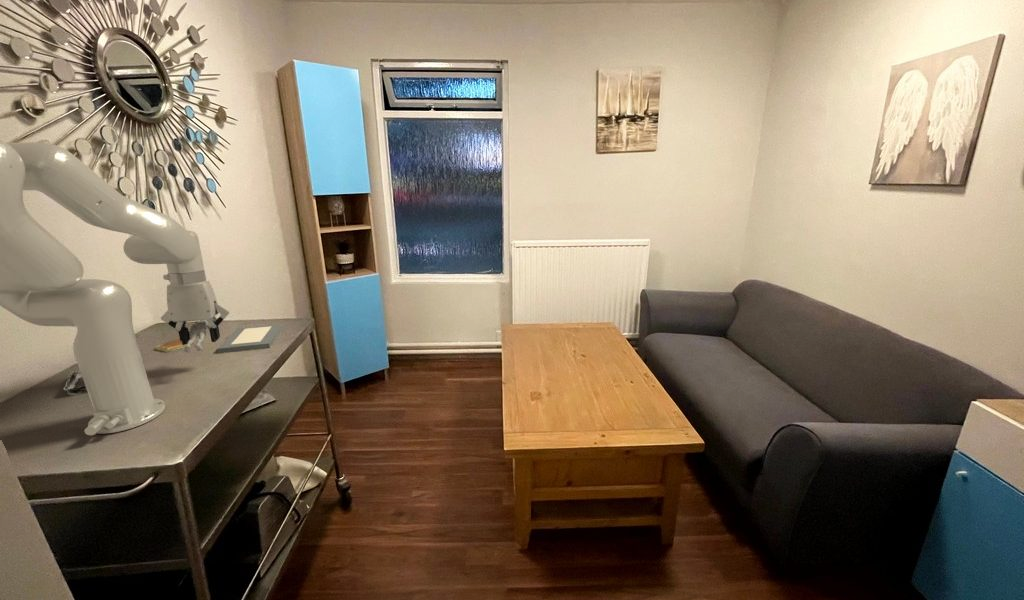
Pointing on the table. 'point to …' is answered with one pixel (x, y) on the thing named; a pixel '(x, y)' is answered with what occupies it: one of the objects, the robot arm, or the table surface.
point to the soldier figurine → (197, 334)
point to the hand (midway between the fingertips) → (201, 341)
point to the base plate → (250, 338)
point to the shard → (170, 345)
